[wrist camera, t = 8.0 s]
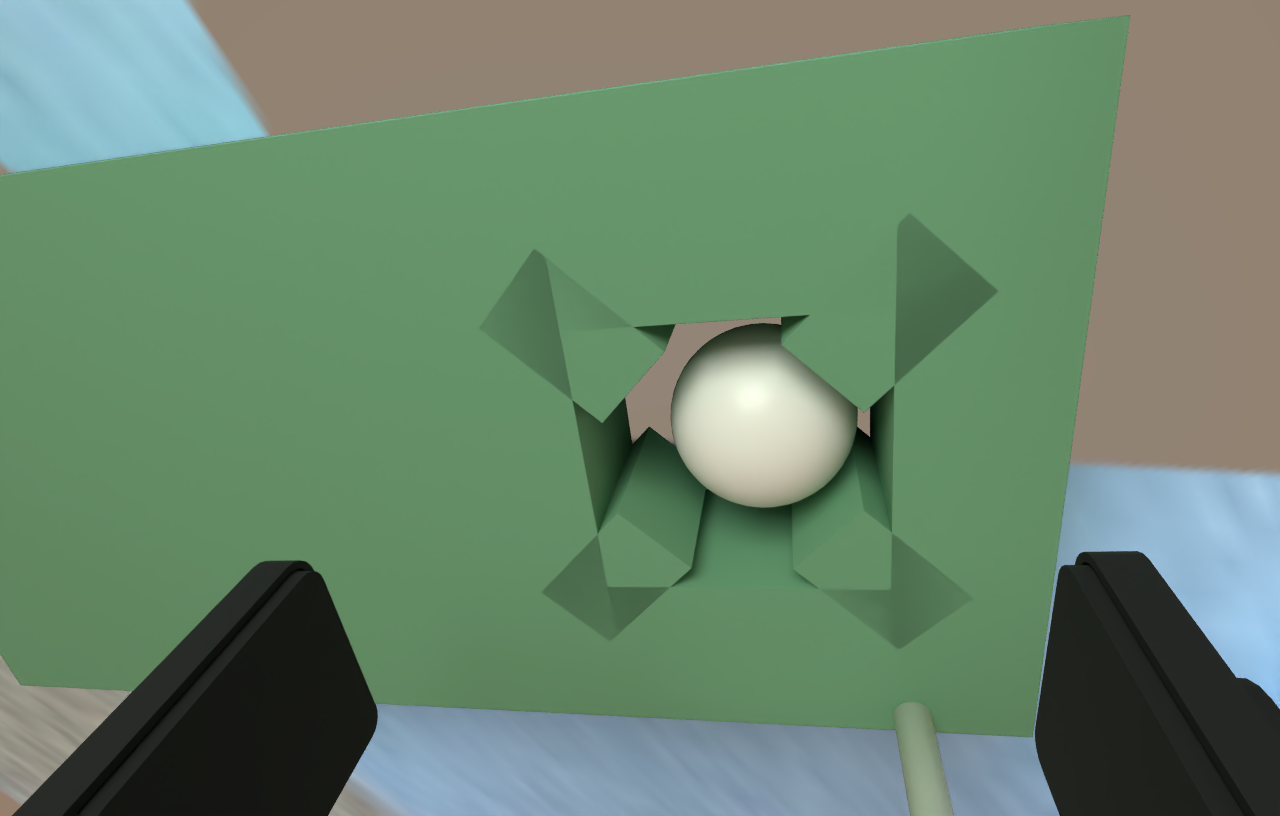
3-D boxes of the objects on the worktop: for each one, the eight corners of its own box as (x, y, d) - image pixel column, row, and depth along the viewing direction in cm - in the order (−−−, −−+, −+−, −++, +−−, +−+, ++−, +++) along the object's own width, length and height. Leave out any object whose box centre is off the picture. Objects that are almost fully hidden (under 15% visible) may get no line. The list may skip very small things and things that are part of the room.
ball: (677, 380, 13) (834, 271, 14) (614, 393, 17) (741, 306, 18) (789, 558, 14) (930, 439, 15) (703, 532, 17) (821, 439, 18)
